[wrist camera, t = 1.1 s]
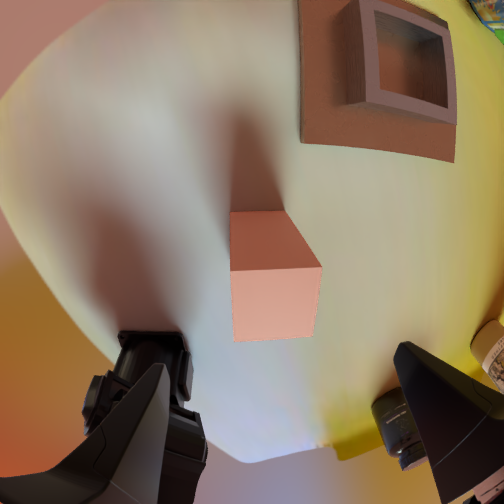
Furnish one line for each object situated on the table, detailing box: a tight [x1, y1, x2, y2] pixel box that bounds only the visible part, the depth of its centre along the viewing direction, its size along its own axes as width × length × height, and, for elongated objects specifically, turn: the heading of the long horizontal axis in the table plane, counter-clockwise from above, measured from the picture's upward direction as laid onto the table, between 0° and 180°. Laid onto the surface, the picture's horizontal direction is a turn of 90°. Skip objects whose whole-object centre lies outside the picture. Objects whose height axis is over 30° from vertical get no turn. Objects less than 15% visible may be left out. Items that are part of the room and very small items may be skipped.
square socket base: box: [298, 0, 457, 163], centre depth 14 cm, size 14×14×4 cm
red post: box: [230, 211, 322, 342], centre depth 17 cm, size 4×4×9 cm
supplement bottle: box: [372, 387, 428, 471], centre depth 27 cm, size 7×7×12 cm
